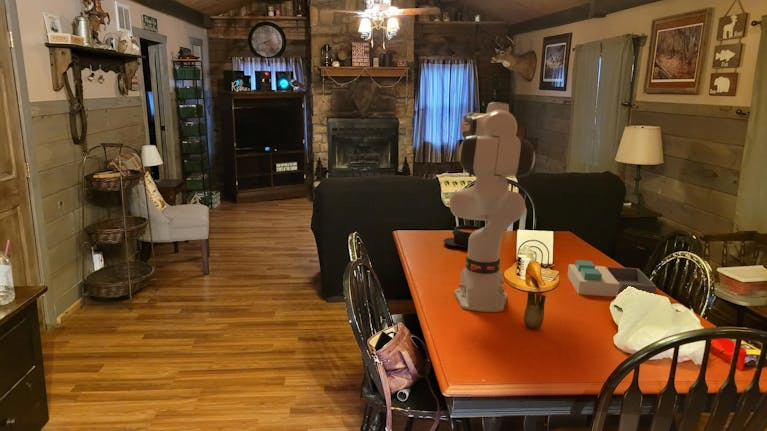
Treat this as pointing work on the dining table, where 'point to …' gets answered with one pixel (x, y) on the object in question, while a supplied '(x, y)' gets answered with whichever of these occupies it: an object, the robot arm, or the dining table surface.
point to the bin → (632, 279)
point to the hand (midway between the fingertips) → (491, 180)
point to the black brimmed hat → (461, 235)
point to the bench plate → (594, 282)
